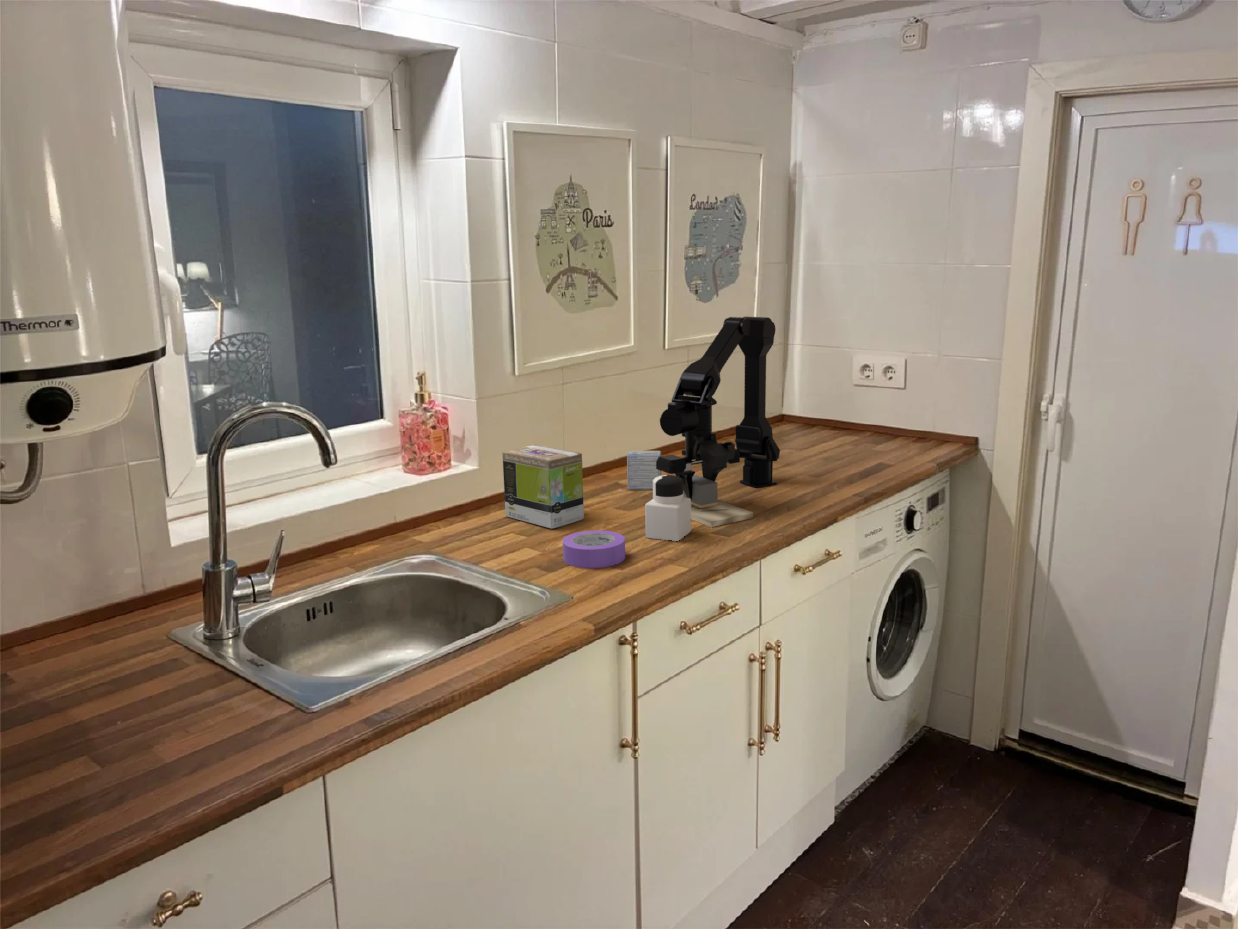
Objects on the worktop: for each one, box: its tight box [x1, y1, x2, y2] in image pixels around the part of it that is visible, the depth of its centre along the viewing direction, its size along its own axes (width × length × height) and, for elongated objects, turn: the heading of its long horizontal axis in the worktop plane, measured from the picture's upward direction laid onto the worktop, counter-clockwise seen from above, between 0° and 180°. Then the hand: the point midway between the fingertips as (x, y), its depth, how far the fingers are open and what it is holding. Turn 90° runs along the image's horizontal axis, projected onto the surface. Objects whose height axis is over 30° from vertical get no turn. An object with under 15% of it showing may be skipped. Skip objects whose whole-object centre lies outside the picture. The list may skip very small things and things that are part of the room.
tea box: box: [502, 444, 585, 529], centre depth 200 cm, size 15×10×15 cm
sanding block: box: [683, 474, 719, 508], centre depth 205 cm, size 4×8×5 cm, turn 30°
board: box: [651, 497, 754, 528], centre depth 205 cm, size 11×22×1 cm, turn 32°
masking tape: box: [562, 530, 626, 569], centre depth 176 cm, size 12×12×4 cm
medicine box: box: [626, 450, 662, 491], centre depth 223 cm, size 8×4×9 cm, turn 84°
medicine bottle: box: [644, 474, 692, 542], centre depth 187 cm, size 7×7×12 cm
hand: (698, 497), depth 206 cm, fingers closed on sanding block, 4 cm apart
